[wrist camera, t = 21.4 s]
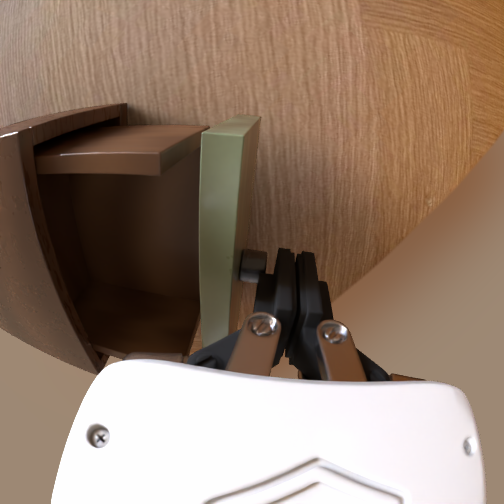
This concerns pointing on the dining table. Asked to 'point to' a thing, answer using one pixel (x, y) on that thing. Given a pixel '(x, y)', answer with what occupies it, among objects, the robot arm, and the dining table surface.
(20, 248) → the cabinet
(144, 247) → the drawer
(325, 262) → the dining table surface
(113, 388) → the robot arm
